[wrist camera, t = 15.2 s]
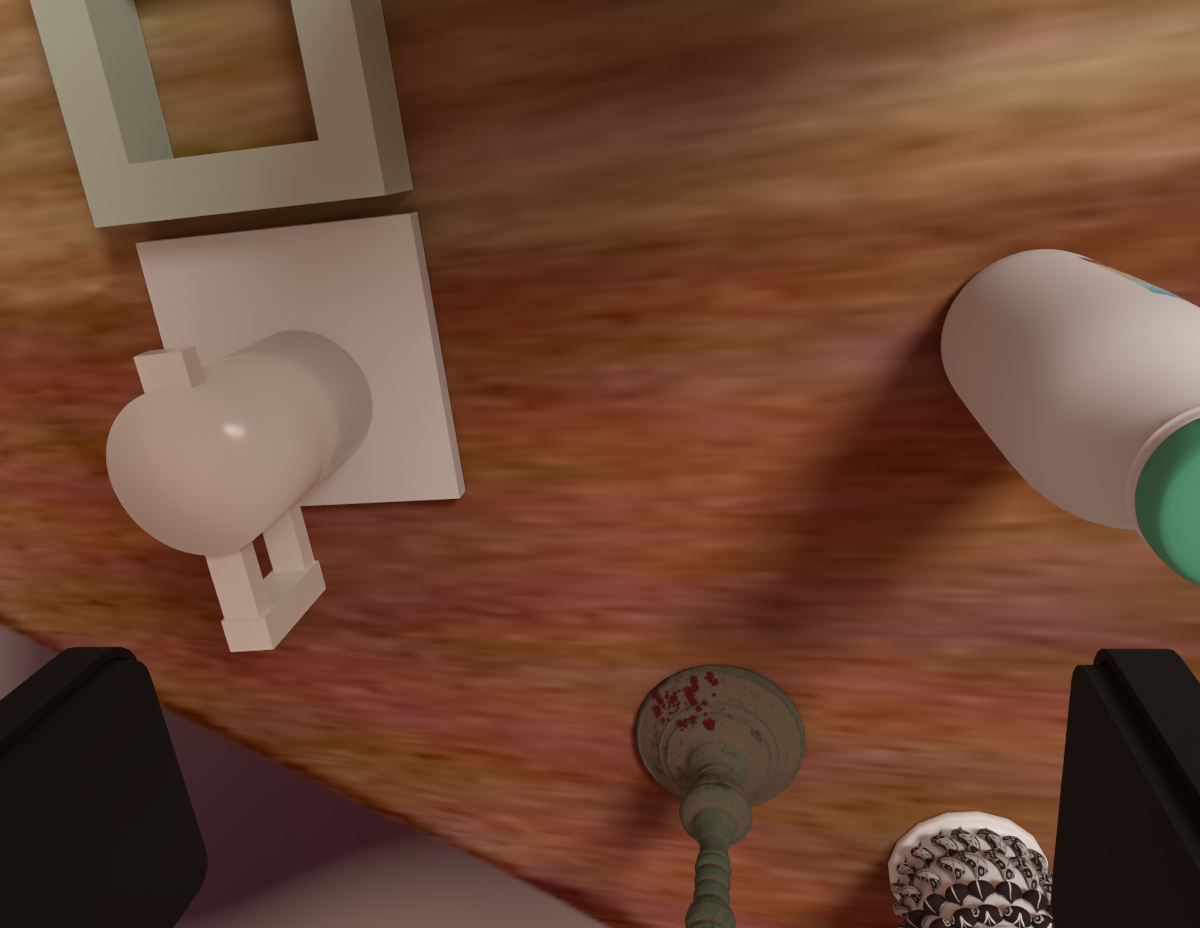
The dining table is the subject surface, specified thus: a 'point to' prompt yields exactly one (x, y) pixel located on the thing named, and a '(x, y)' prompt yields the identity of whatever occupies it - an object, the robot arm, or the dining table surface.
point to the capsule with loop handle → (240, 466)
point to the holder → (236, 178)
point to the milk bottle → (1087, 391)
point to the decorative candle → (970, 874)
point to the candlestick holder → (719, 764)
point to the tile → (327, 333)
